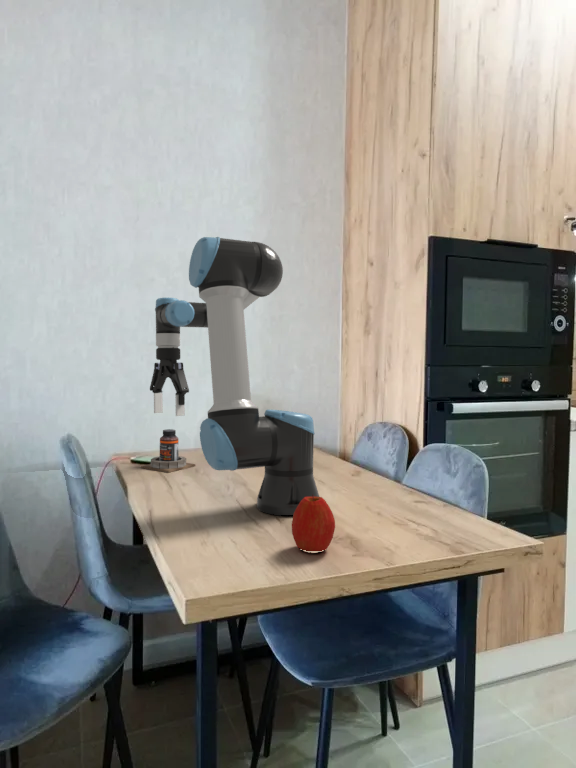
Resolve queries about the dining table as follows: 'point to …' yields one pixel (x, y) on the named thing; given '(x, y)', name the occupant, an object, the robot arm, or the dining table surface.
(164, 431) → the supplement bottle
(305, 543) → the apple
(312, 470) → the robot arm
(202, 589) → the dining table surface
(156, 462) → the socket
